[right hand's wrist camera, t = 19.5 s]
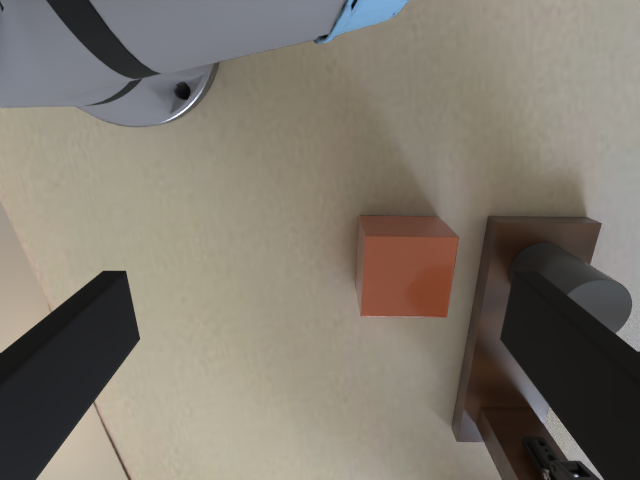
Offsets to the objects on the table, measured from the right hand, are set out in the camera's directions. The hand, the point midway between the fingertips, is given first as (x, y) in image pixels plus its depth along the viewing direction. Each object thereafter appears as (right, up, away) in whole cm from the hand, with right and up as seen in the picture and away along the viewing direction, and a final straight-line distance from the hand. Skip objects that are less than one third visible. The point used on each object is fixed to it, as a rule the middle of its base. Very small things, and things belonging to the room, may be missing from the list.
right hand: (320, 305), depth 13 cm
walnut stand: (+22, -8, +29) cm, 38 cm away
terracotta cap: (+8, +1, +26) cm, 27 cm away
